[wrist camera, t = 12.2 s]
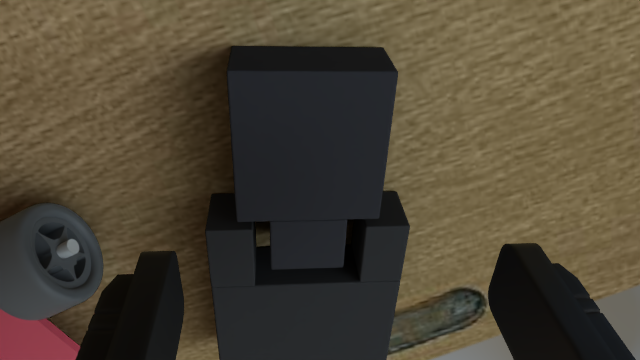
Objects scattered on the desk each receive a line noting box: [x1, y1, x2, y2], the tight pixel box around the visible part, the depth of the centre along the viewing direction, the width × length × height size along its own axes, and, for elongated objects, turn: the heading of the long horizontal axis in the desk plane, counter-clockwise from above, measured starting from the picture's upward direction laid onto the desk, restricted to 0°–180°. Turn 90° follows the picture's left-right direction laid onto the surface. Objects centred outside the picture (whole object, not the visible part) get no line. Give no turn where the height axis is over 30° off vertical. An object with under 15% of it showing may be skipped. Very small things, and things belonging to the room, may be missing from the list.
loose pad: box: [227, 46, 398, 270], centre depth 19 cm, size 8×6×2 cm, turn 178°
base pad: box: [205, 191, 410, 360], centre depth 23 cm, size 9×8×2 cm
